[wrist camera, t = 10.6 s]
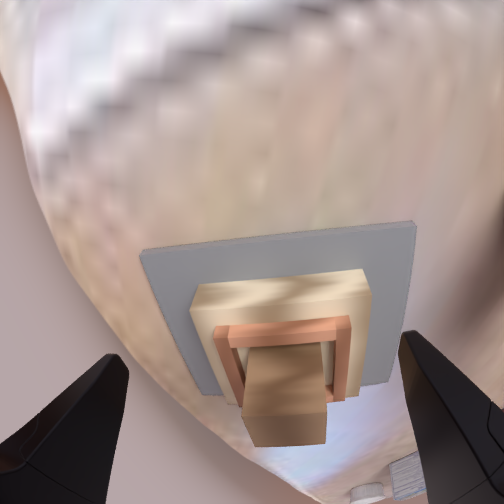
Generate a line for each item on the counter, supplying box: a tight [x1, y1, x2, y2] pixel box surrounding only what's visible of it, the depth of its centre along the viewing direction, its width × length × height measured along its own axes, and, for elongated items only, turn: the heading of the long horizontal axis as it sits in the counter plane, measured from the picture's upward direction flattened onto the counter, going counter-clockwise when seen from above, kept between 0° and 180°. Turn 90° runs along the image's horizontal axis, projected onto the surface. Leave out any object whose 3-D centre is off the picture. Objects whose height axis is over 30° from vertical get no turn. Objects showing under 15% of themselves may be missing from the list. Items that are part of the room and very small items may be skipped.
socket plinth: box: [189, 269, 372, 407], centre depth 23 cm, size 12×12×4 cm
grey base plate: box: [139, 221, 417, 395], centre depth 25 cm, size 20×18×1 cm
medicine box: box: [389, 451, 427, 500], centre depth 39 cm, size 8×4×9 cm, turn 142°
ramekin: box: [349, 483, 385, 504], centre depth 52 cm, size 9×9×4 cm
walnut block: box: [241, 342, 327, 447], centre depth 20 cm, size 5×5×6 cm
